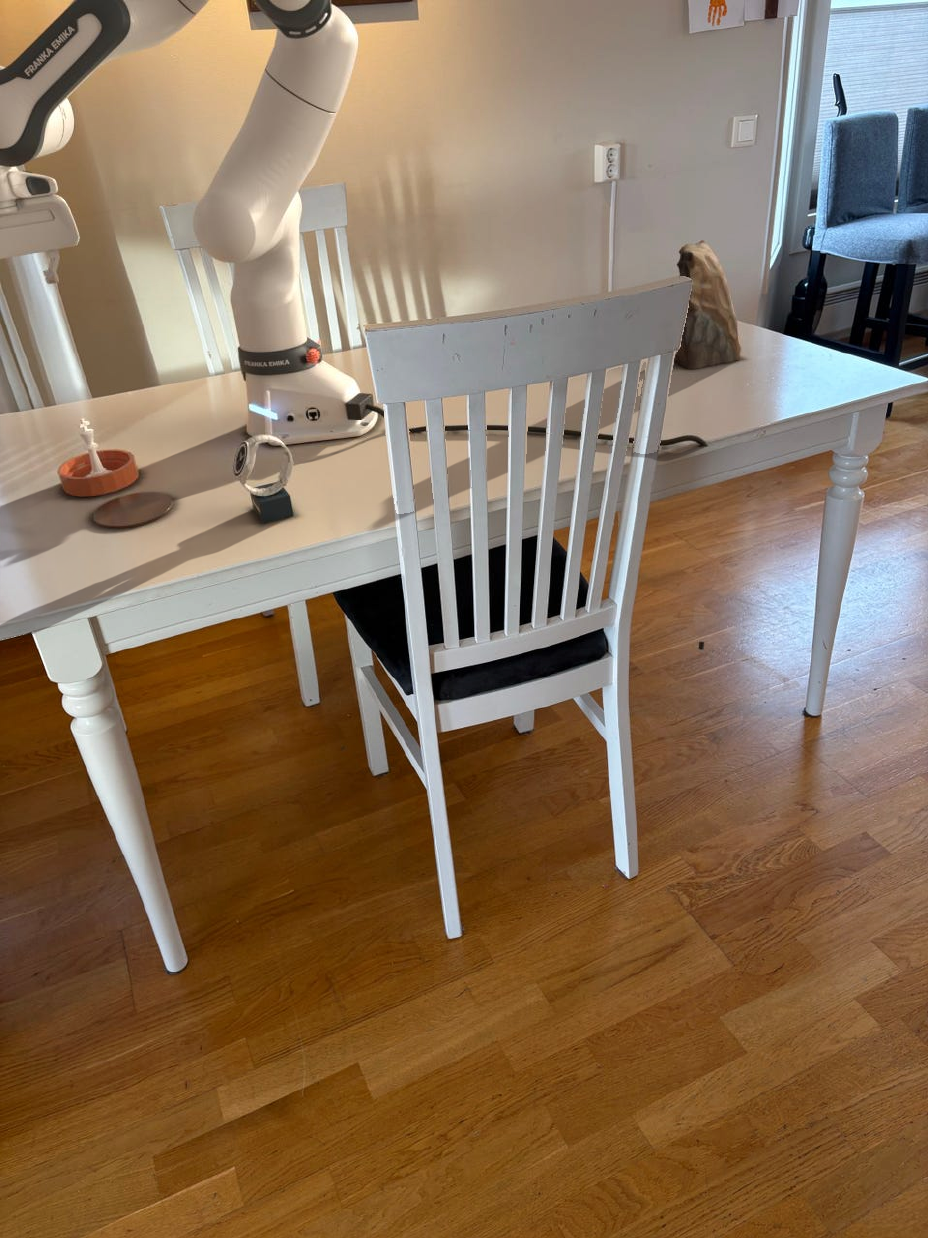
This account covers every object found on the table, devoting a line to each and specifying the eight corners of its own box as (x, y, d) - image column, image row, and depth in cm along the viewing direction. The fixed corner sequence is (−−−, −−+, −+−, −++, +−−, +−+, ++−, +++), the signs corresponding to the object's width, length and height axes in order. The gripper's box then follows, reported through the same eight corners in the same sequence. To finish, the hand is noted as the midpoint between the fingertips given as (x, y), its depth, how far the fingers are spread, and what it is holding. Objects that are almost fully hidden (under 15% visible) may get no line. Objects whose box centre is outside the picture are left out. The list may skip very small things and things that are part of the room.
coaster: (182, 493, 134) (181, 490, 134) (158, 527, 125) (157, 524, 124) (111, 496, 135) (110, 493, 134) (81, 530, 126) (80, 527, 125)
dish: (149, 466, 144) (144, 447, 142) (123, 496, 134) (117, 476, 132) (81, 469, 144) (75, 450, 143) (51, 499, 135) (44, 480, 133)
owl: (686, 371, 165) (693, 256, 154) (649, 354, 175) (654, 245, 164) (743, 359, 168) (755, 246, 157) (704, 343, 178) (712, 235, 167)
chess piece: (124, 477, 140) (106, 415, 134) (98, 489, 136) (79, 426, 131) (103, 472, 142) (85, 411, 137) (78, 484, 139) (57, 422, 133)
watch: (239, 512, 127) (223, 438, 121) (294, 498, 130) (281, 425, 124) (249, 527, 123) (233, 451, 117) (306, 512, 125) (292, 438, 119)
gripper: (-89, 199, 119) (-50, 306, 126) (66, 178, 129) (94, 278, 136) (-97, 196, 123) (-59, 300, 131) (53, 175, 133) (81, 273, 141)
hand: (21, 289), depth 134 cm, fingers open, 8 cm apart
